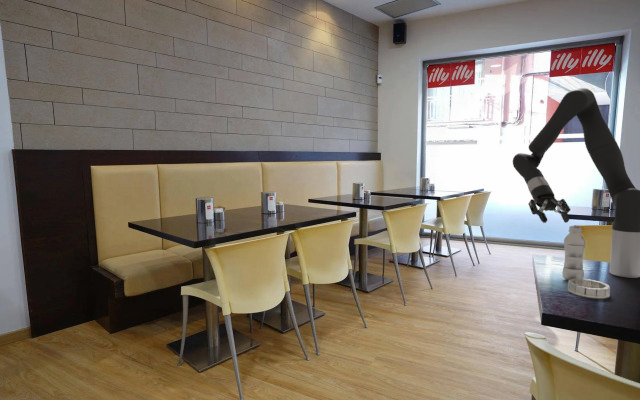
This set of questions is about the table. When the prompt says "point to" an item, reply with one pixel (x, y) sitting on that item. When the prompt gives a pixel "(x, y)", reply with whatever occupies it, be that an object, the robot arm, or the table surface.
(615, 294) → the table surface
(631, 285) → the table surface
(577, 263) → the plastic bottle
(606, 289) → the ring holder
